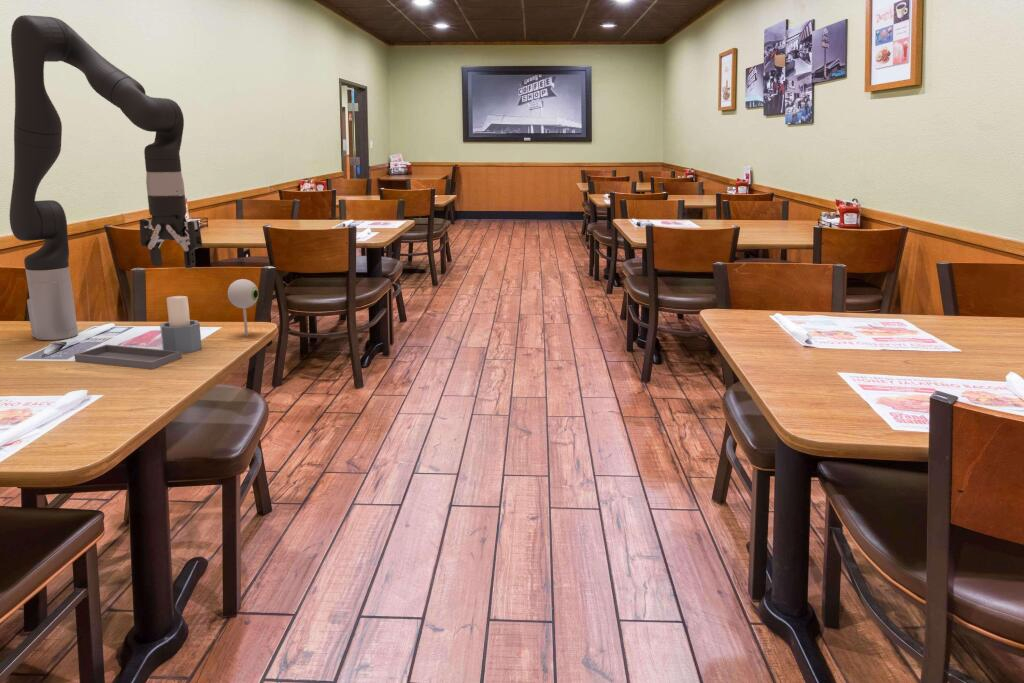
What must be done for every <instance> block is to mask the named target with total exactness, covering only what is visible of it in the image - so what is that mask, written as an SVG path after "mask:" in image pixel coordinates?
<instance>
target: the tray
mask: <svg viewBox="0 0 1024 683" xmlns="http://www.w3.org/2000/svg"><path fill="white" fill-rule="evenodd" d="M181 359H182V354H181V352H180V351H170V350H163V349H158V348H148V347H137V346H125V345H115V344H104V345H100V346H98V347H94V348H91V349H88V350H84V351H82V352H78V353H75V354H74V361H75V362H79V363H87V364H96V365H104V366H105V365H109V366H119V367H128V368H133V369H135V368H136V369H137V368H138V369H144V370H155V369H158V368H160V367H163V366H165V365H169V364H170V363H173V362H175V361H178V360H181Z"/></svg>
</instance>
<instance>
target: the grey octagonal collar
mask: <svg viewBox="0 0 1024 683" xmlns="http://www.w3.org/2000/svg"><path fill="white" fill-rule="evenodd" d="M200 326H201V325H200V322H199V320H195V319H190V325H189V326H182V327H169V320H168V321H166V322H161V323H160V324H159V327H160V328H159V329H160V337H161V338H160V339H161V347H162V350H170V351H180V352H181V355H182V354H192V353H195V352H198V351H200V350H202V349H203V348H202V337H201V335H202V334H201V327H200Z"/></svg>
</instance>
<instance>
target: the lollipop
mask: <svg viewBox="0 0 1024 683" xmlns="http://www.w3.org/2000/svg"><path fill="white" fill-rule="evenodd" d="M259 295H260V294H259V289H258V287H257V285H256V284H255V283H254V282H253V281H251V280H249V279H245V278H241V279H236V280H235V281H233V282H232V283H231V284H230V285H229V286H228V288H227V297H228V300H229V302H230V303H231V304H232V305H233V306H235V307H236V308H238V309H242V313H243V316H242V317H243V325H244V327H243V328H244V329H243V330H244V336H246V337H247V336H249V332H248V320H247V309H248V308H251V307H252V306H254V305H255V304H256V302H257V301H258V300H259Z"/></svg>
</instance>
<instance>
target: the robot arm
mask: <svg viewBox="0 0 1024 683" xmlns="http://www.w3.org/2000/svg"><path fill="white" fill-rule="evenodd" d="M10 43H11V44H10V45H11V55H12V56H11V58H12V64H13V65H12V68H13V74H14V75H13V79H14V120H13V121H14V122H13V124H14V125H13V126H14V127H13V150H14V151H13V153H14V154H13V155H14V157H13V158H14V159H13V163H14V165H13V180H12V189H11V196H10V206H9V224H10V231H11V233H12V234H13V236H14V237H15V238H16V239H17V240H19V241H21V242H33V241H42V240H44V243H43V244H42V246H41V247H40V248H39V249H37V250H35V251H34V252H32V253H30V254H28V255H26V256H24V260H23V262H24V269H25V276H26V283H27V288H28V294H29V298H27V300H26V305H27V311H28V317H29V318H28V319H29V325H30V331H31V336H32V338H35V339H37V340H39V341H56V340H58V341H59V340H64V339H65V340H66V339H68V338H69V339H71V338H72V337H75V336H77V335H78V334H79V332H78V324H77V316H76V307H75V301H74V300H75V299H74V294H73V293H74V292H73V287H72V277H71V271H70V264H69V258H70V248H69V247H70V246H69V233H68V222H67V216H66V213H65V212H66V211H65V210H64V208H63V206H62V204H61V203H59V202H58V201H57V200H51V199H50V200H49V199H45V200H36V194H37V191H38V188H39V187H40V183H41V182H42V180H43V178H44V177H45V176H46V175H47V173H48V172H49V171H50V169H51V168H52V167H53V166H54V164H55V162H56V161H57V160H58V158H59V156H60V154H61V151H62V131H63V123H62V120H61V117H60V114H59V113H58V111H57V108H56V107H55V105H54V104H53V102H52V100H51V98H50V96H49V94H48V92H47V90H46V85H45V72H44V71H45V70H44V69H45V63H47V62H48V63H49V62H52V63H53V62H55V63H56V62H62V63H66V64H68V65H70V66H72V67H74V68H76V69H77V70H78V71H80V72H81V73H83V74H84V76H85V78H86V80H87V82H88V84H89V86H90V87H91V88H92V90H94V91H95V93H97V94H98V95H99V96H100V97H102V98H103V99H105V100H106V101H107V102H109V103H110V104H112V105H113V106H114V107H117V108H118V109H120V111H121V112H122V113H123V114H124V115H125V117H126V118H127V119H128V120H129V121H130V122H131V123H132V125H134V126H136V127H137V128H139V129H141V130H143V131H145V132H151V133H152V132H154V133H155V136H154V142H153V143H149V144H148V145H146V146H145V147H144V150H143V154H144V155H143V156H144V165H145V172H146V175H145V176H146V178H145V182H146V183H145V184H146V192H147V204H148V209H149V210H148V211H149V212H148V213H149V215H150V216H151V218H142V219H140V220H139V234H140V236H139V237H140V246H142V247H145V248H147V249H149V253H150V262H151V264H152V266H153V267H161V266H162V265H163V258H162V249H161V245H162V244H163V242H164V241H166V240H170V241H176V243H177V244H179V245H180V247H182V249H183V258H184V259H183V260H184V267H185V269H191V268H194V267H195V266H196V253H195V252H196V251H195V250H196V249H197V250H198V249H199V248H202V247H203V240H202V233H201V225H200V222H199V220H189V221H188V220H187V219H186V214H187V213H188V212H187V203H186V194H185V192H186V191H185V182H184V178H183V175H182V174H183V173H182V163H181V155H180V151H181V147H182V141H183V132H184V126H185V120H184V113H183V111H182V108H181V106H179V104H178V103H177V102H176V101H175V100H173V99H170V98H165V97H162V98H161V97H153V96H150V95H147V94H146V90H145V88H144V86H143V85H142V84H141V83H139V81H137V79H135V78H133V77H131V76H130V75H129V74H127V73H126V72H124V71H123V70H121V69H120V68H118V67H117V66H115V65H114V64H112V63H111V62H110V61H109V60H107V59H106V58H105V57H104V56H102V54H100V53H99V52H98V51H96V50H95V49H94V48H93V46H91V45H90V43H88V42H87V41H86V40H84V38H83V37H81V35H80V34H79V33H78V32H77V31H75V29H73V28H72V27H71V26H70V25H68V24H67V22H65V21H64V20H62V19H59V18H57V17H53V16H46V15H45V16H43V15H32V14H31V15H27V14H26V15H24V14H23V15H19V16H18V17H16V19H15V20H14V21H13V23H12V26H11V32H10ZM153 230H154V231H153ZM186 230H187V231H186Z"/></svg>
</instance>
